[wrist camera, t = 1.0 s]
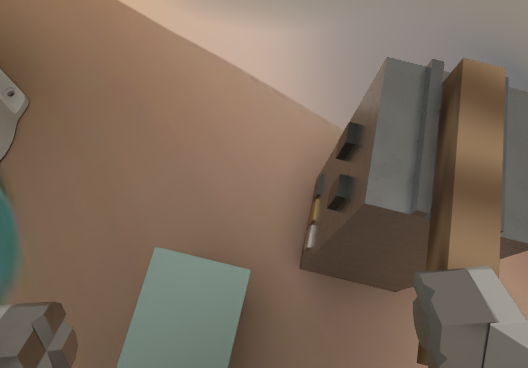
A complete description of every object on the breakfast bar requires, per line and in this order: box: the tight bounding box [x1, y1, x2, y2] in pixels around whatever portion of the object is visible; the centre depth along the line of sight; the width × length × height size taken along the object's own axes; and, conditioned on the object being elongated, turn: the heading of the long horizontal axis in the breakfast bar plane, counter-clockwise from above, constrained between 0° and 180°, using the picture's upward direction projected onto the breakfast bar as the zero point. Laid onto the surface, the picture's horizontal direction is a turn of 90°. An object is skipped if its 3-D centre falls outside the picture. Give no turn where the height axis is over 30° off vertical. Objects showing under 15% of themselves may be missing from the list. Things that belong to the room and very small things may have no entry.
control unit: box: [299, 57, 528, 292], centre depth 43 cm, size 12×13×27 cm
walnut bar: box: [417, 58, 506, 365], centre depth 28 cm, size 20×3×3 cm, turn 167°
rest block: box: [116, 247, 251, 368], centre depth 42 cm, size 10×8×17 cm
